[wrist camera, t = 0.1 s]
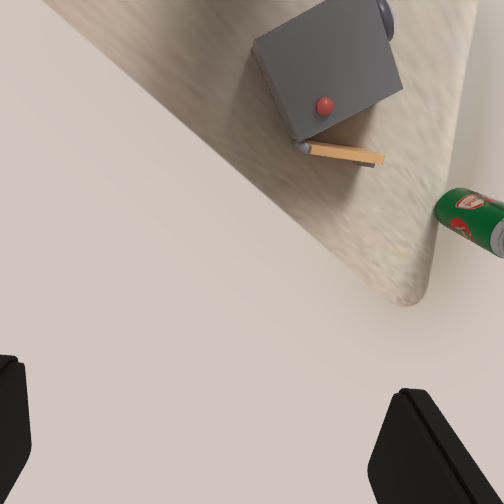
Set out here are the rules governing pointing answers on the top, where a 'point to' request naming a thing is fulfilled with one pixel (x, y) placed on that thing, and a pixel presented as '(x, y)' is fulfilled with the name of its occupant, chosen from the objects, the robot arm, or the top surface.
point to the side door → (340, 152)
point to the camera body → (329, 63)
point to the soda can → (474, 218)
